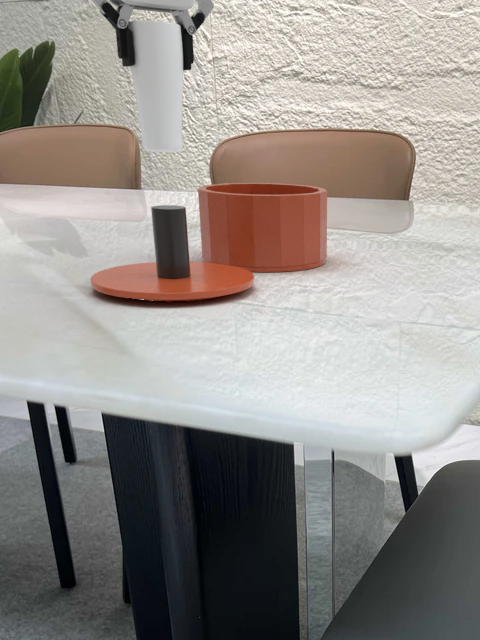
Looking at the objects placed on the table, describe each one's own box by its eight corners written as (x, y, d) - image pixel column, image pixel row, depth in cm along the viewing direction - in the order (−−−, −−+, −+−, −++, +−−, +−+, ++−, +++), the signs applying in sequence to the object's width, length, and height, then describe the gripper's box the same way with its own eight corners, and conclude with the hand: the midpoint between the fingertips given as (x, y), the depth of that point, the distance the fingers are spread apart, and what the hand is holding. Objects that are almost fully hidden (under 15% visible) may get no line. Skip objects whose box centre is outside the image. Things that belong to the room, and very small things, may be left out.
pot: (232, 276, 77) (228, 197, 74) (185, 254, 88) (180, 184, 84) (348, 266, 84) (349, 193, 81) (291, 247, 94) (290, 181, 91)
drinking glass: (163, 153, 100) (154, 19, 94) (126, 150, 104) (115, 21, 97) (199, 152, 106) (192, 26, 99) (162, 150, 109) (154, 27, 102)
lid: (118, 314, 62) (107, 221, 59) (74, 280, 74) (63, 201, 70) (281, 297, 70) (279, 213, 66) (219, 269, 81) (215, 196, 77)
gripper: (202, -83, 100) (209, 73, 107) (63, -107, 91) (81, 64, 99) (225, -94, 94) (230, 71, 102) (78, -121, 86) (97, 62, 93)
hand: (157, 66), depth 100 cm, fingers closed on drinking glass, 6 cm apart
